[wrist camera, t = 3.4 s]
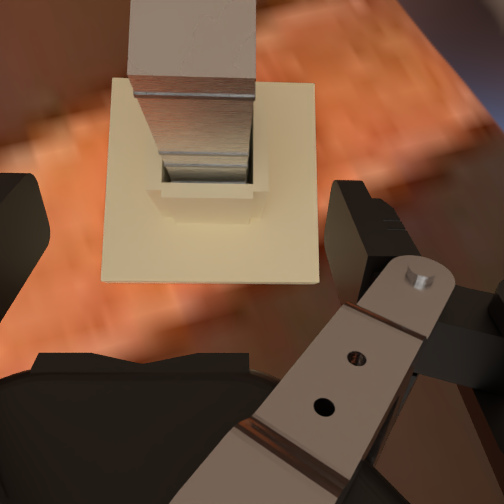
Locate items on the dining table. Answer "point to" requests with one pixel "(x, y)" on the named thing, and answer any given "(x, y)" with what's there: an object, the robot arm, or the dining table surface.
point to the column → (196, 83)
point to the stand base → (215, 201)
